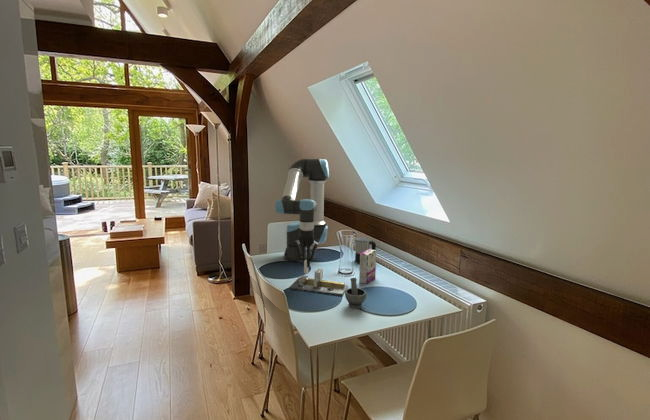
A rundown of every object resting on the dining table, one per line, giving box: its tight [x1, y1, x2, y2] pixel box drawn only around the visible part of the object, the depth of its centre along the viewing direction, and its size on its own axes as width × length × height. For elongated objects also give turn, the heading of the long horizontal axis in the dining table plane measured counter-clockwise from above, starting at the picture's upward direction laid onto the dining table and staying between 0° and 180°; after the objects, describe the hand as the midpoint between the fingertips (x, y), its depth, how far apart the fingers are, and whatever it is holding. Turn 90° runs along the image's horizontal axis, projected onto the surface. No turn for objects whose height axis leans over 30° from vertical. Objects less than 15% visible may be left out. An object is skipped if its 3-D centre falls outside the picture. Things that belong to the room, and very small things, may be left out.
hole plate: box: [289, 278, 349, 297], centre depth 182 cm, size 12×28×1 cm, turn 73°
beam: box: [297, 275, 346, 288], centre depth 182 cm, size 7×25×3 cm, turn 73°
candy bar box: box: [358, 248, 377, 285], centre depth 192 cm, size 11×5×16 cm, turn 147°
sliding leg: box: [313, 268, 324, 287], centre depth 182 cm, size 8×3×7 cm, turn 163°
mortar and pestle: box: [344, 277, 367, 310], centre depth 162 cm, size 11×9×12 cm
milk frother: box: [354, 237, 377, 264], centre depth 229 cm, size 14×16×15 cm
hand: (306, 272), depth 185 cm, fingers closed
